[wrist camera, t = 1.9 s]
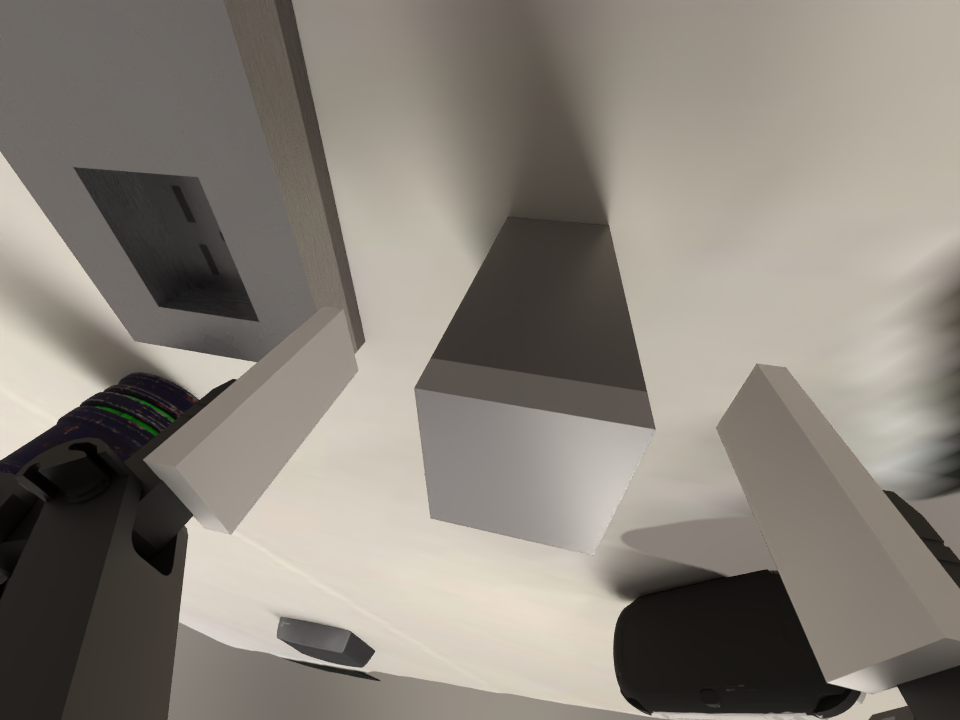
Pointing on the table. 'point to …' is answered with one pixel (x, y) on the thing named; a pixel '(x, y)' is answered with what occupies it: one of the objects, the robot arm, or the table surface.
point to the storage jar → (113, 419)
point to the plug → (536, 391)
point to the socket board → (178, 164)
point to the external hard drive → (325, 642)
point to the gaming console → (723, 655)
